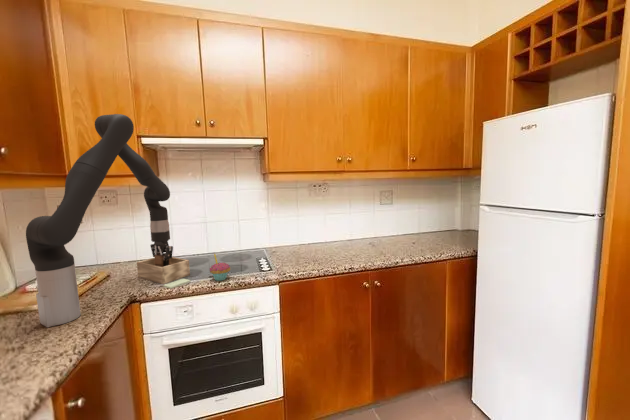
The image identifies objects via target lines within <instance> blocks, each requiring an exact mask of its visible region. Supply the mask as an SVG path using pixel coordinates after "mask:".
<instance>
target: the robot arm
mask: <svg viewBox="0 0 630 420" xmlns="http://www.w3.org/2000/svg"><path fill="white" fill-rule="evenodd" d="M94 128H95V130H96V132H97V135H99V136H100V140H99V141H98V142H97V143H96V144H94V145H93V146H92V147H91V148H89V149H88V150H87V151H85V152H84V153H83V154H81V155H80V156H79V157H77V159H76V160H75V162H74V163H73V165H72V166H71V168H70V169H69V171H68V173H67V175H66V178H65V183H64V184H65V185H64V193H63V198H62V200H61V202H60V204H59V205H58V207H57V208H56V209H55V211H54V212H53V213H52V215H42V216H37V217H34V218H33V219H32V220H30V221H29V223H28V224H27V226H26V228H25V238H26V239H25V240H26V244H27V250H28V255H29V259H30V261H31V263H32V264H33V265H34V270H35V277H36V283H37V284H36V285H37V286H36V287H37V291H38V292H37V293H36V303H37V309H38V318H39V324H41V325H42V326H44V327H45V328H49V327H54V326H59V325H63V324H67V323H69V322H72V321H74V320H76V319H77V318H79V317H81V306H80V298H79V297H80V296H79V289H78V280H77V273H76V265H75V256H74V255H73V254H71V253H70V252H69V251H68V250H67V248H66V246H65V245H67V244H69V243H70V242H71V241H72V240H73V239H74V238H75V237H76V234H77V233H78V230H79V228H80V225H81V223H82V221H83V218H84V216H85V214H86V211H87V209H88V208H89V206H90V204H91V202H92V201H93V198H94V197H95V195H96V193H97V192H98V190H99V188H100V187H101V185H102V183H103V182H104V180H105V178H106V176H107V174H108V173H109V171H110V169H111V167H112V165H113V163H114V162H115V161H116V159H117V157H119V158H120V159H121V160H122V161H123V162H124V164H125V165H126V167H128V168H129V170H130V171H131V173H132V175H133V176H134V177H135V178H136V180H137V182H138V183H139V184H140V185H141V186H144V187H145V189H144V190H143V199H144V201H145V204H146V207H147V209H148V211H149V219H150V220H149V224H150V225H149V228H150V230H149V231H150V240H151V242H152V243H151V244H150V249H151V254H152V257H153V258H155V257H154V255H159V254H161V256H163V265H164V266H168V265H169V259H171V258H172V257H173V251H174V247H173V246H172V245H169V241H170V240H171V232H170V231H171V230H170V222H169V214H168V208H167V207H165V206H163V205H161V204H160V202H166V201H169V199H170V197H171V191H170V189H169V187H168V185H167V184H166V183H165V182H164V181H163V180H161V178H159V177H158V176H157V175H156V173H155V172H154V170H153V169H152V167H151V166H150V164H149V163H148V161H146V159H145V158H144V157H142V156H141V155H140V154H138V152H136V151H135V150H134V149H133V148H131V146H130V145H129V144H128V142H129V140H130V139H131V137H132V136H133V134H134V130H135V129H134V123H133V121H132V119H131V118H130V117H129V116H127V115H125V114H122V113H113V114H103V115H99V116H97V117H96V118H95V120H94ZM169 254H170V256H169Z"/></svg>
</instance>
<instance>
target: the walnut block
mask: <svg viewBox="0 0 630 420" xmlns="http://www.w3.org/2000/svg"><path fill="white" fill-rule="evenodd" d="M169 256H170V254H169ZM153 258H155V266H159V267H164V265H163V256H161V254H159V255H154V257H153ZM169 265H171V263H170V259H169Z"/></svg>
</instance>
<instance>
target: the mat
mask: <svg viewBox="0 0 630 420" xmlns="http://www.w3.org/2000/svg"><path fill="white" fill-rule="evenodd" d="M188 283H191V279H188V278H187V279H186V278H180V279H177V280H174V281H171V282H168V283H165V284H162V286H163V287H164V288H167V289H174V288H177V287H180V286H182V285H185V284H188Z"/></svg>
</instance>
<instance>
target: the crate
mask: <svg viewBox="0 0 630 420" xmlns="http://www.w3.org/2000/svg"><path fill="white" fill-rule="evenodd" d="M170 263H171V265H168V266H164V267H159V266H155V257H153V258H149V259H144V260H141V261H137V262H136V267H137V268H136V269H137V278H140V279H143V280H147V281H148V282H152V283H153V282H154V283H157V284H160V285H166V284H169V283H172V282H174V281H177V280H180V279H184V278H185V277H188V276H190V275H191V273H190V271H191V270H190V260H189V259H185V258H179V257H175V256H172V258H171V259H170Z"/></svg>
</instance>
